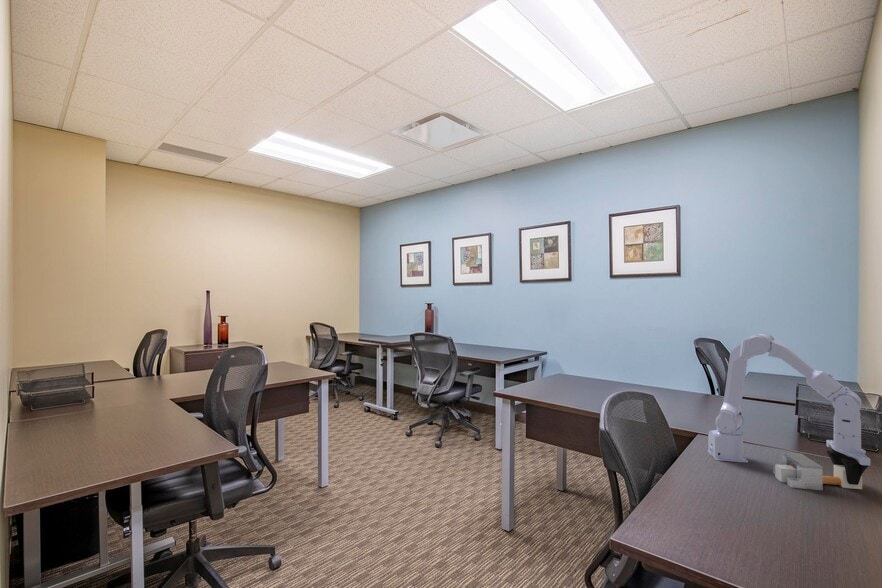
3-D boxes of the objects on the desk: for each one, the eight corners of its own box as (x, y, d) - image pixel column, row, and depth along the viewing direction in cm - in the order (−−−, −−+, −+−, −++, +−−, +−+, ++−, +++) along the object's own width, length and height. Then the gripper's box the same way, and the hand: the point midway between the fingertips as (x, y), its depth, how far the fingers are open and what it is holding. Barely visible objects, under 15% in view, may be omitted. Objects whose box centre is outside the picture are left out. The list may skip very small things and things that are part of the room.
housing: (791, 487, 119) (791, 464, 119) (772, 472, 128) (772, 451, 128) (822, 490, 117) (822, 466, 117) (801, 475, 127) (801, 453, 127)
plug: (782, 482, 122) (781, 465, 122) (774, 476, 126) (774, 460, 126) (862, 489, 117) (862, 471, 117) (852, 483, 121) (851, 465, 121)
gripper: (884, 443, 112) (884, 493, 112) (845, 426, 126) (846, 471, 126) (852, 441, 113) (852, 490, 113) (818, 425, 127) (818, 469, 127)
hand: (847, 480), depth 120 cm, fingers closed on plug, 4 cm apart
